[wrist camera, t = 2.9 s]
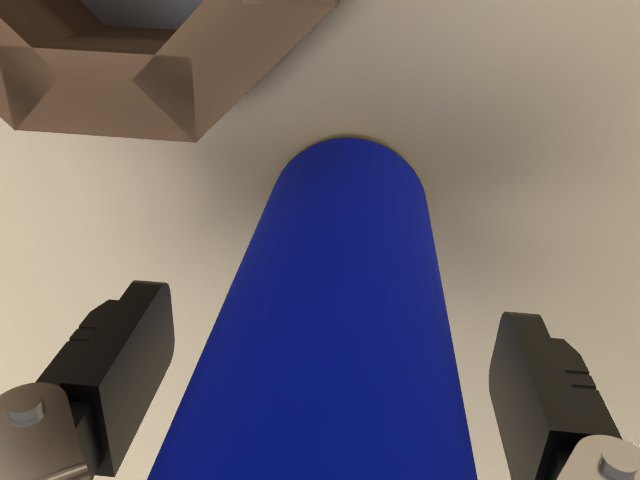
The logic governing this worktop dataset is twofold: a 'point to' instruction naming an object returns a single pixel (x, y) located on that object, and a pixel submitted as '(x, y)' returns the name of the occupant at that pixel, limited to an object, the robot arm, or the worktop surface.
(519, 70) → the worktop surface
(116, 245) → the worktop surface
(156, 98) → the collar
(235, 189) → the worktop surface
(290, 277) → the beverage can
